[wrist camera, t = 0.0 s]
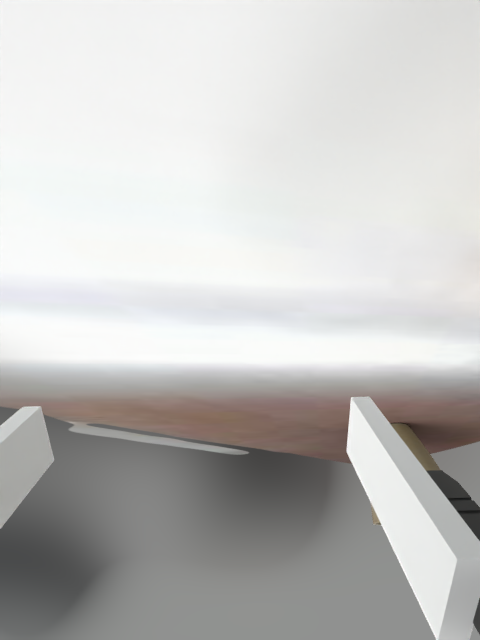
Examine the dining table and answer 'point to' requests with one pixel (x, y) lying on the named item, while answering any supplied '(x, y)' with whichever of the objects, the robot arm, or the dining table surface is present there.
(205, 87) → the dining table surface
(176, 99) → the dining table surface
